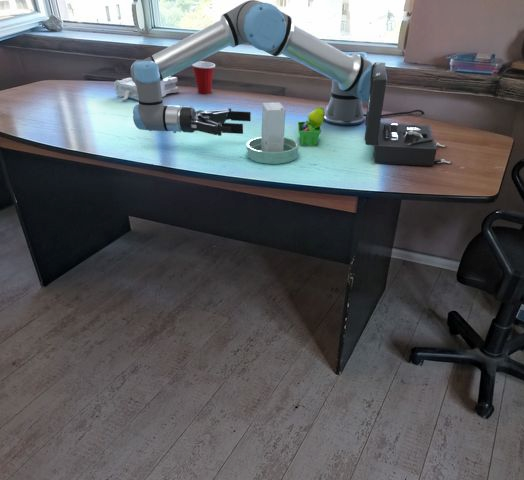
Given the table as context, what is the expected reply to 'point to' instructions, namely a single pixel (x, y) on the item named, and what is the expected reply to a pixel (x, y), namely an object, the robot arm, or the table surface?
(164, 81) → the white irregular flat block
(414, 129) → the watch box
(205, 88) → the plastic cup
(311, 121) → the fruit basket
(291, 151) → the bowl
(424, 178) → the table surface
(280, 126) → the cosmetic box
